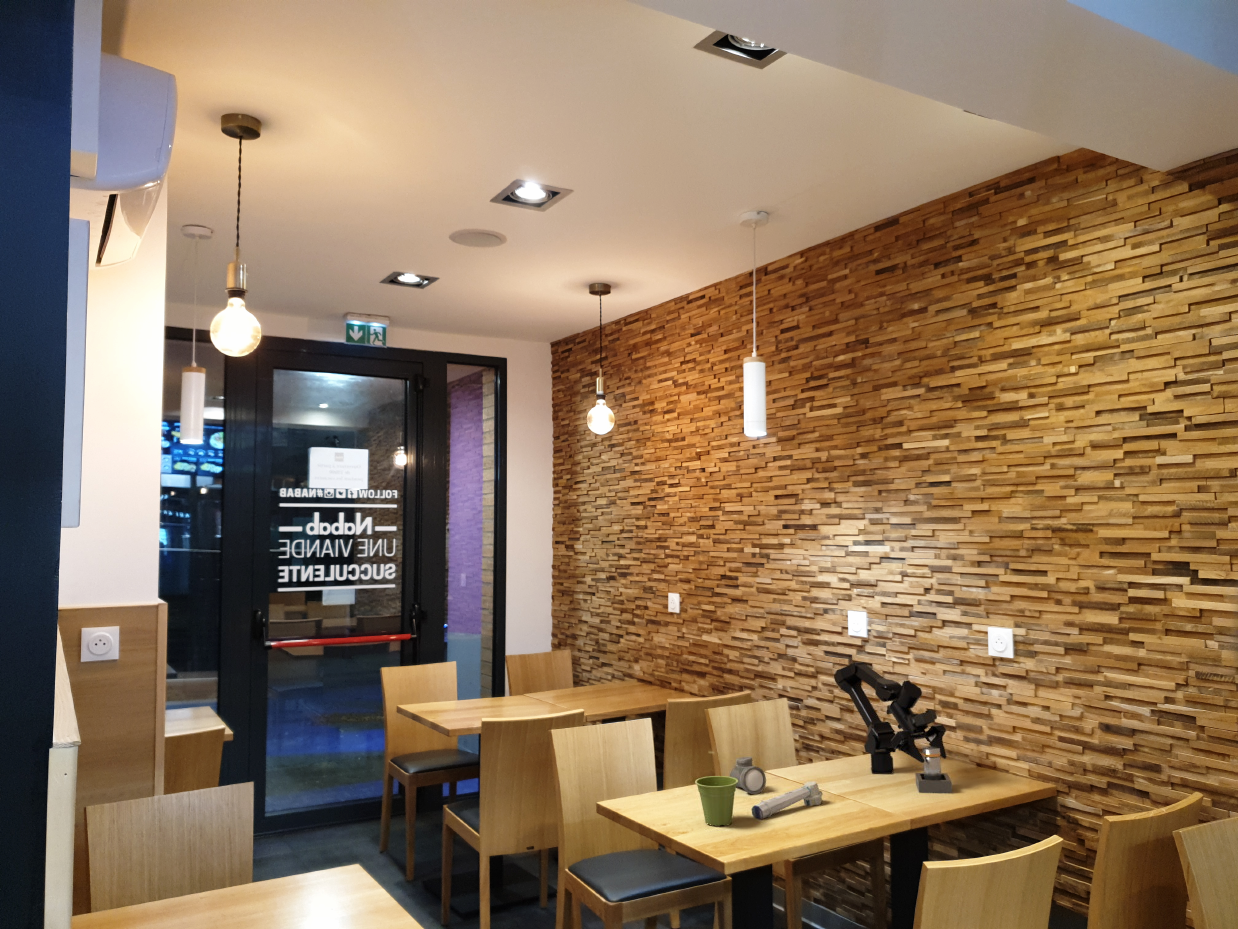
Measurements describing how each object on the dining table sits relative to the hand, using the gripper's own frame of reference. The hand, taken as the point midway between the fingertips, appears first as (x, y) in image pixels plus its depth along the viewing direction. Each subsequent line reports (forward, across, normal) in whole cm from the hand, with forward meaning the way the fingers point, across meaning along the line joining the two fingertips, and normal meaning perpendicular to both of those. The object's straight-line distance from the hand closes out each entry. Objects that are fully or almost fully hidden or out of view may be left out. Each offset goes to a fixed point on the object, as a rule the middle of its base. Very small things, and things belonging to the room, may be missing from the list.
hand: (934, 760), depth 278 cm
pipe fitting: (-17, -46, +30) cm, 58 cm away
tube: (+5, 0, +7) cm, 9 cm away
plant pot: (-1, -72, +14) cm, 73 cm away
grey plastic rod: (0, -49, +13) cm, 51 cm away
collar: (+5, 0, +7) cm, 9 cm away
